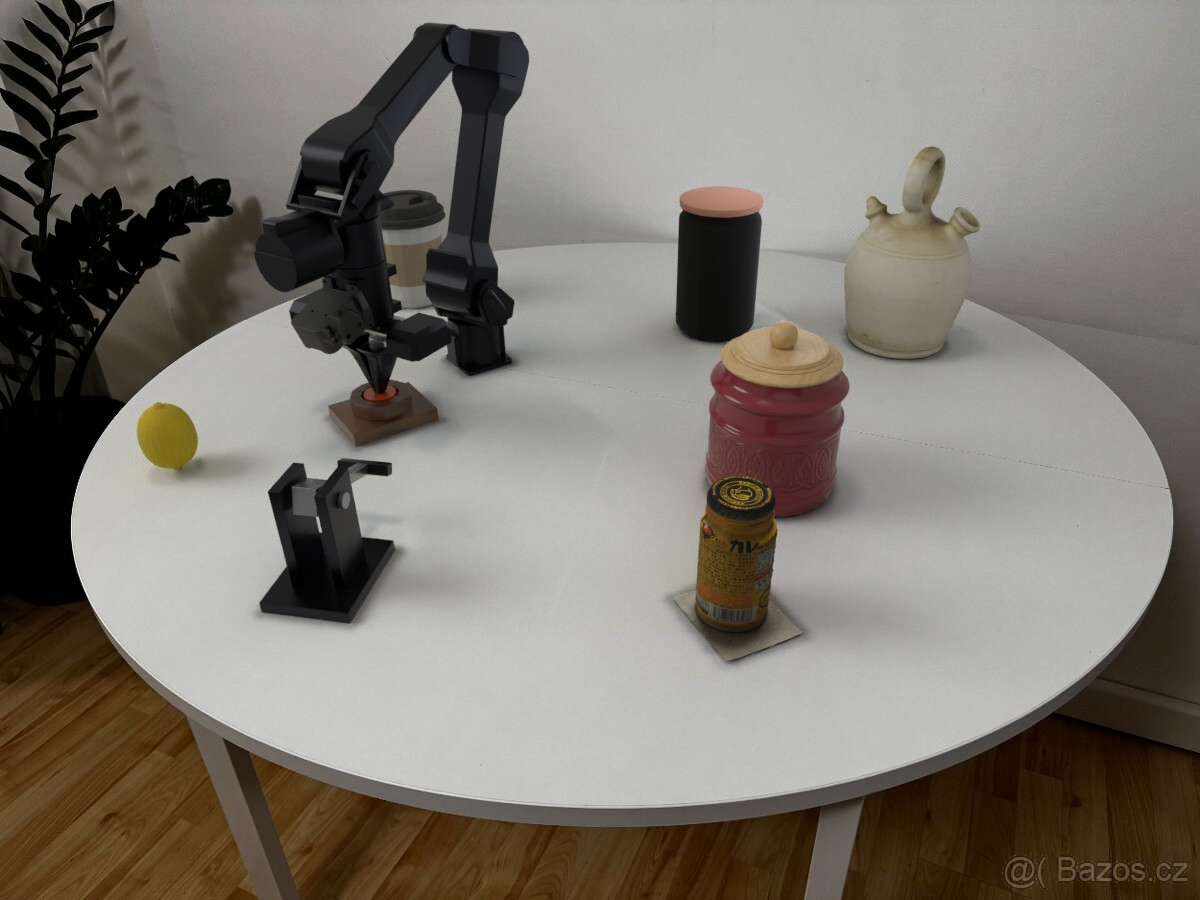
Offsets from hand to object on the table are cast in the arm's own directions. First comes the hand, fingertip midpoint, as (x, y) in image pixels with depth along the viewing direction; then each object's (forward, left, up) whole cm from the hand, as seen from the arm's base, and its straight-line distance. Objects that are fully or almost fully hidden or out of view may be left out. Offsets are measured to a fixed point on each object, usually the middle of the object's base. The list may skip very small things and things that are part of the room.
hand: (380, 392), depth 101 cm
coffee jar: (-47, +3, -4) cm, 47 cm away
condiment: (-11, +48, -4) cm, 49 cm away
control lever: (+12, +21, +3) cm, 25 cm away
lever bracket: (+15, +24, -4) cm, 29 cm away
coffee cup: (-18, -31, -4) cm, 36 cm away
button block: (0, 0, -4) cm, 4 cm away
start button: (0, 0, -2) cm, 2 cm away
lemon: (+22, -3, -4) cm, 23 cm away
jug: (-64, +20, -4) cm, 67 cm away
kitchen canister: (-27, +35, -4) cm, 44 cm away
